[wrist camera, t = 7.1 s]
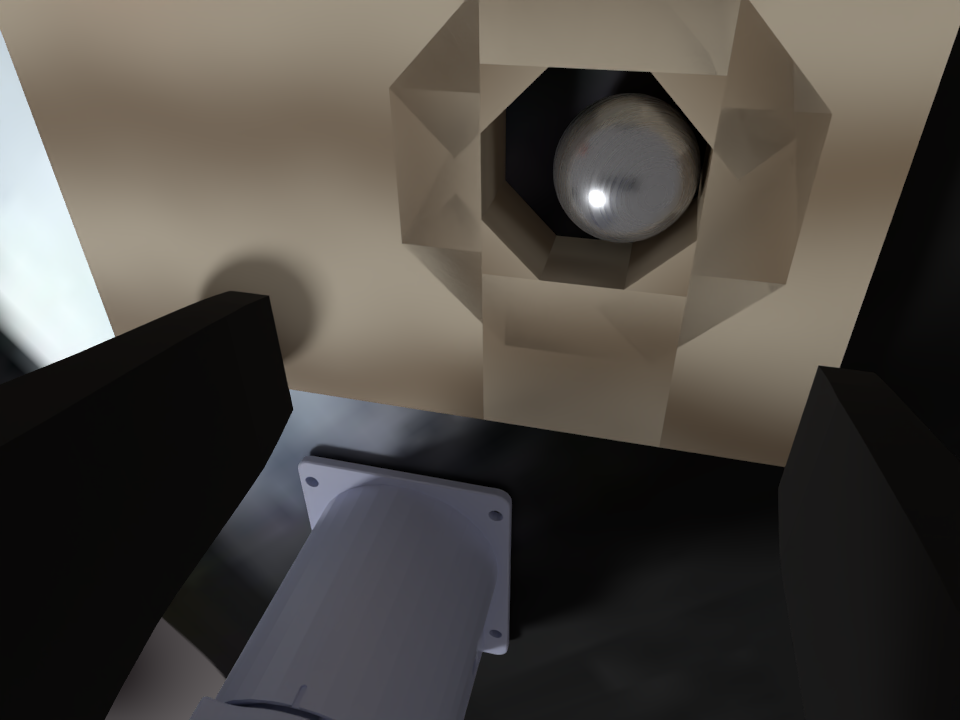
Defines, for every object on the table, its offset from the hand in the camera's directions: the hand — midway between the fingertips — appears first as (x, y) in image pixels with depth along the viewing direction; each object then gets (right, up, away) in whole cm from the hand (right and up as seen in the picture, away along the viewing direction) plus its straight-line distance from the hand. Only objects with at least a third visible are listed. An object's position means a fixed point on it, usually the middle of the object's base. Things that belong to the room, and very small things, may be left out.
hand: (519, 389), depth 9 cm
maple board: (-1, +6, +8) cm, 10 cm away
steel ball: (+3, +5, +6) cm, 8 cm away
